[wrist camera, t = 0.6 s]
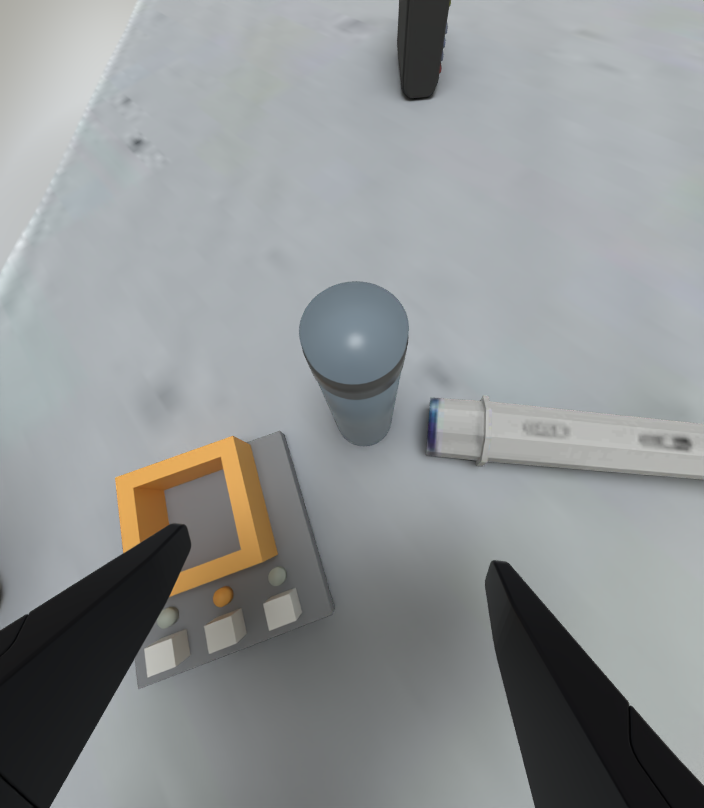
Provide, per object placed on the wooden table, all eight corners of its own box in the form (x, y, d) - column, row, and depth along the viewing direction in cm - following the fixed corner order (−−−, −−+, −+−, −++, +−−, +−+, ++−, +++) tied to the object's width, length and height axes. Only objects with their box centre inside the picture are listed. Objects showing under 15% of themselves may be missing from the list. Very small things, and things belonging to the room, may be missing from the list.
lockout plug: (400, 435, 24) (428, 356, 11) (347, 454, 23) (316, 395, 11) (379, 386, 25) (385, 266, 12) (329, 404, 25) (284, 301, 12)
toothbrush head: (431, 378, 21) (985, 408, 15) (429, 409, 27) (820, 439, 21) (425, 459, 19) (1039, 527, 13) (424, 473, 26) (845, 523, 20)
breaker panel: (334, 608, 20) (325, 633, 16) (151, 679, 20) (96, 721, 16) (284, 434, 24) (266, 419, 20) (128, 489, 24) (79, 486, 20)
